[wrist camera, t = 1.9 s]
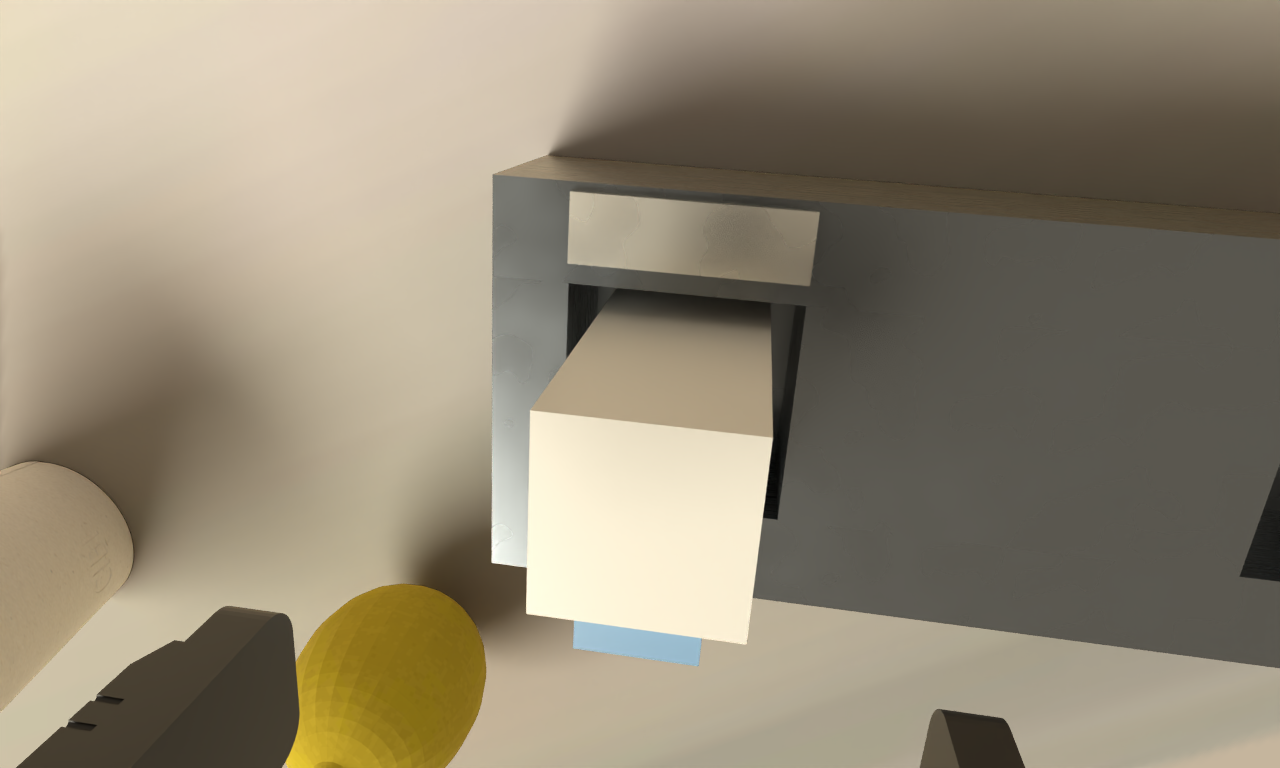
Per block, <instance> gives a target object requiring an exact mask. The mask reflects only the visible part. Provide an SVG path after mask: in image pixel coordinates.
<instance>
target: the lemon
mask: <svg viewBox="0 0 1280 768" xmlns="http://www.w3.org/2000/svg"><path fill="white" fill-rule="evenodd" d="M296 673H297V685H298V697H299V709H300V716H299V725H298V730H297V735H296V738H295V742H294V744H293V747H292V750H291V752H290V754H289V756H288V758H287V760H286V764H287V767H288V768H445V767H446V766H447V765H448V764H449V763H450V761H451V760H452V759H453V757H454V756H455V755H456V753H457V752H458V750H459V749H460V747H461V746H462V744H463V742H464V740H465V739H466V737H467V735H468V733H469V731H470V729H471V728H472V726H473V724H474V722H475V720H476V717H477V715H478V712H479V709H480V706H481V702H482V697H483V691H484V686H485V680H486V661H485V653H484V645H483V642H482V640H481V637H480V635H479V632H478V630H477V627H476V625H475V624H474V622H473V621H472V619H471V618H470V617H469V615H468V614H467V613H466V611H465V610H464V609H463V608H462V607H461V606H460V605H459V604H458V603H457V602H455V601H454V600H453V599H452V598H450V597H448V596H447V595H445V594H443V593H441V592H440V591H438V590H435V589H431V588H428V587H425V586H421V585H411V584H397V585H389V586H382V587H378V588H376V589H373V590H371V591H369V592H366V593H364V594H361V595H359V596H357V597H355V598H353V599H352V600H350V601H349V602H347V603H346V604H345V605H343V606H342V607H341V608H340V609H339V610H337V611H336V612H335V613H334V614H332V615H331V616H330V617H329V618H328V619H327V620H326V621H324V622H323V623H322V624H321V626H320V627H319V628H318V629H317V630H316V631H315V633H314V634H313V636H312V637H311V638H310V640H309V641H308V643H307V645H306V646H305V648H304V649H303V651H302V652H301V654H300V656H299V657H298V659H297V661H296Z"/></svg>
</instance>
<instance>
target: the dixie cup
mask: <svg viewBox="0 0 1280 768" xmlns="http://www.w3.org/2000/svg"><path fill="white" fill-rule="evenodd" d="M132 564H133V543H132V538H131V535H130V531H129V529H128V526H127V524H126V522H125V520H124V518H123V516H122V514H121V513H120V511H119V510H118V508H117V507H116V505H115V504H114V503H113V501H112V500H111V499H110V498H109V497H108V496H107V495H106V494H105V493H104V492H103V491H102V490H101V489H100V488H99V487H98V486H97V485H95V484H94V483H93V482H91V481H90V480H89V479H87V478H85V477H84V476H82V475H80V474H79V473H77V472H75V471H73V470H70V469H68V468H65V467H63V466H59V465H56V464H51V463H44V462H38V461H32V462H24V463H20V464H17V465H14V466H12V467H9V468H6V469H3V470H0V712H1V711H2V710H3V709H4V708H5V707H6V706H7V705H8V704H9V703H10V702H11V701H12V700H13V699H14V698H15V697H16V696H17V695H18V694H19V693H20V692H21V690H22V689H23V688H24V687H25V686H26V685H27V684H28V683H29V682H30V681H31V680H32V679H33V678H34V677H35V676H36V675H37V674H38V673H39V672H40V671H41V670H42V669H43V668H44V666H45V665H46V664H47V663H48V662H49V661H50V660H51V659H52V658H53V657H54V656H55V655H56V654H57V653H58V652H59V651H60V650H61V649H62V648H63V647H64V646H65V645H66V644H67V643H68V641H69V640H70V639H71V638H72V637H73V636H74V635H75V634H76V633H77V632H78V631H79V630H80V629H81V628H82V627H83V626H84V625H85V624H86V623H87V622H88V621H89V620H90V619H91V617H92V616H93V615H94V614H95V613H96V612H97V611H98V610H99V609H100V608H101V607H102V606H103V605H104V604H105V603H106V602H107V601H108V600H109V599H110V598H111V597H112V596H113V595H114V594H115V592H116V591H117V590H118V589H119V588H120V587H121V586H122V585H123V584H124V583H125V581H126V580H127V578H128V576H129V574H130V571H131V568H132Z"/></svg>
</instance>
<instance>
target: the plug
mask: <svg viewBox="0 0 1280 768" xmlns="http://www.w3.org/2000/svg"><path fill="white" fill-rule="evenodd" d="M772 441H773V413H772V355H771V303H770V302H759V301H749V300H738V299H728V298H717V297H707V296H697V295H686V294H676V293H665V292H655V291H644V290H634V289H623V288H617V289H616V290H615V291H614V293H613V294H612V296H611V297H610V298H609V300H608V301H607V303H606V304H605V305H604V307H603V308H602V310H601V311H600V312H599V314H598V315H597V317H596V318H595V320H594V321H593V322H592V324H591V325H590V327H589V328H588V329H587V331H586V332H585V334H584V335H583V336H582V338H581V339H580V341H579V342H578V344H577V345H576V346H575V348H574V349H573V351H572V352H571V353H570V355H569V356H568V358H567V359H566V360H565V362H564V363H563V365H562V366H561V367H560V369H559V370H558V372H557V373H556V375H555V376H554V377H553V379H552V380H551V382H550V383H549V384H548V386H547V387H546V389H545V390H544V391H543V393H542V394H541V396H540V397H539V399H538V400H537V401H536V403H535V404H534V406H533V407H532V408H531V410H530V442H529V492H528V543H527V594H526V614H531V615H538V616H546V617H553V618H560V619H567V620H574V638H573V648H575V649H582V650H589V651H595V652H602V653H609V654H616V655H623V656H630V657H637V658H644V659H651V660H658V661H665V662H672V663H679V664H686V665H693V666H699V658H700V650H701V641H702V638H703V639H710V640H718V641H725V642H732V643H739V644H747V636H748V628H749V621H750V613H751V605H752V597H753V589H754V582H755V574H756V566H757V558H758V550H759V543H760V535H761V527H762V519H763V511H764V504H765V496H766V488H767V480H768V472H769V465H770V457H771V449H772Z"/></svg>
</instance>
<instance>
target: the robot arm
mask: <svg viewBox="0 0 1280 768" xmlns="http://www.w3.org/2000/svg"><path fill="white" fill-rule="evenodd" d="M299 716H300V709H299V697H298V685H297V673H296V662H295V650H294V638H293V628H292V624H291V621H290V619H289V617H288V616H287V615H285V614H283V613H276V612H269V611H262V610H255V609H247V608H240V607H233V606H226V607H223V608H221V609H219V610H218V611H217V612H215V613H214V614H213V615H212V616H211V617H210V618H209V619H208V620H207V621H206V622H205V623H204V624H203V625H202V626H201V627H200V628H199V629H198V630H196V631H195V632H194V633H193V634H192V635H191V636H190V637H189V638H188V639H187V640H186V641H185V642H182V641H175V640H174V641H172V642H171V643H169V644H167V645H165V646H163V647H161V648H159V649H158V650H156V651H154V652H152V653H150V654H148V655H147V656H145V657H143V658H141V659H139V660H137V661H135V662H134V663H132V664H130V665H129V666H128V667H127V668H126V669H125V670H123V671H122V672H121V673H120V674H119V675H118V676H117V677H116V678H115V679H114V680H112V681H111V682H110V683H109V684H108V685H107V686H106V687H105V688H104V689H102V690H101V691H100V692H99V693H98V694H97V698H96V700H95V701H89V702H88V703H87V704H86V705H85V706H84V707H83V708H82V709H80V710H79V711H78V712H77V713H76V714H75V715H74V716H73V717H72V718H70V719H69V722H68V725H67V726H66V728H65V727H61V728H59V729H58V730H57V731H56V732H55V733H54V734H53V735H52V736H51V737H49V738H48V739H47V740H46V741H45V742H44V743H43V744H42V745H41V746H40V747H38V748H37V749H36V750H35V751H34V752H33V753H32V754H31V755H30V756H29V757H27V758H26V759H25V760H24V761H23V762H22V763H21V764H20V765H19V766H17V767H16V768H282V766H283V765H284V763H285V762H286V760H287V758H288V756H289V754H290V752H291V750H292V747H293V744H294V742H295V738H296V735H297V730H298V725H299ZM920 768H1025V766H1024V764H1023V761H1022V758H1021V756H1020V753H1019V751H1018V748H1017V745H1016V743H1015V740H1014V738H1013V735H1012V732H1011V730H1010V728H1009V725H1008V724H1007V722H1006V721H1005V720H1004V719H1002V718H998V717H991V716H984V715H977V714H970V713H963V712H956V711H949V710H942V709H937V710H935V711H934V713H933V715H932V717H931V720H930V724H929V729H928V733H927V738H926V742H925V747H924V751H923V756H922V760H921V765H920Z"/></svg>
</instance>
